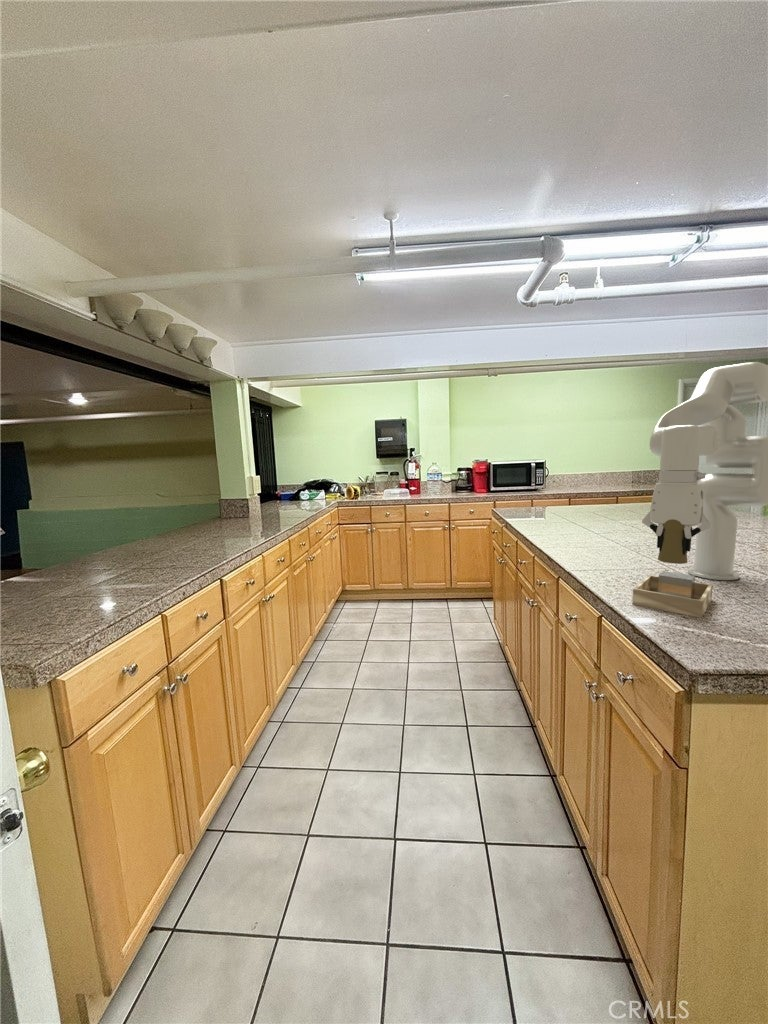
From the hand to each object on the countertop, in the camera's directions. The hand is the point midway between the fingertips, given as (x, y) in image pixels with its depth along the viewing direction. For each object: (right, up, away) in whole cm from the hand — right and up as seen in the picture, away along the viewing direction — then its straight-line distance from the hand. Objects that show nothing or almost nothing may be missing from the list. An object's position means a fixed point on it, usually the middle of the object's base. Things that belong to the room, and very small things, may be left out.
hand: (673, 551), depth 101 cm
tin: (+5, -13, +7) cm, 15 cm away
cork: (0, -2, 0) cm, 2 cm away
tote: (+3, -14, +4) cm, 15 cm away
